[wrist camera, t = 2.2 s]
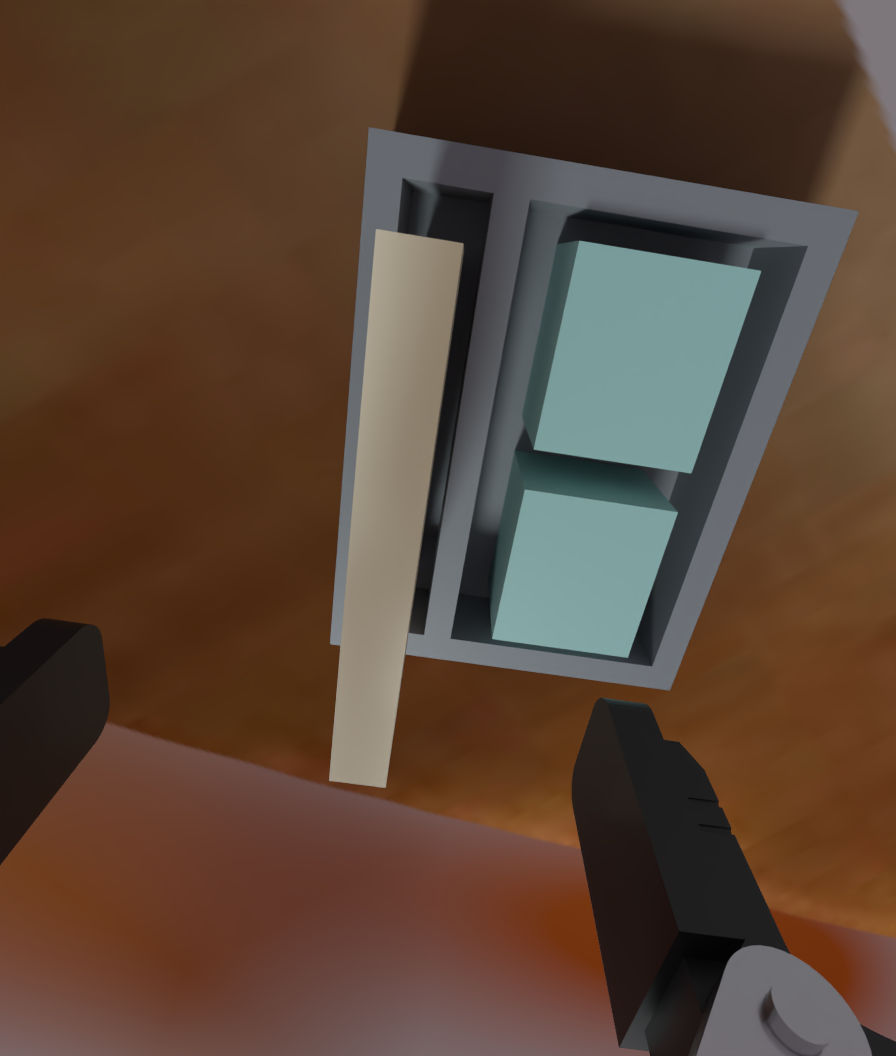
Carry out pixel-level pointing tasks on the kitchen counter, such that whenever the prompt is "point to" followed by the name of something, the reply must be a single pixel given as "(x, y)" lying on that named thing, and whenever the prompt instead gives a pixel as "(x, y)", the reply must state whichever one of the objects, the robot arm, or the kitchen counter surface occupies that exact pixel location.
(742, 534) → the kitchen counter surface
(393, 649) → the birch sheet
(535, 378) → the offcut
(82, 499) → the kitchen counter surface
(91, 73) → the kitchen counter surface
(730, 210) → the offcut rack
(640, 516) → the offcut
